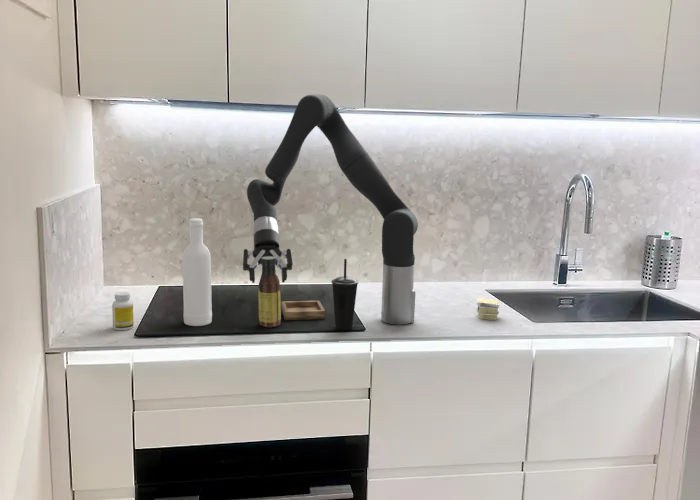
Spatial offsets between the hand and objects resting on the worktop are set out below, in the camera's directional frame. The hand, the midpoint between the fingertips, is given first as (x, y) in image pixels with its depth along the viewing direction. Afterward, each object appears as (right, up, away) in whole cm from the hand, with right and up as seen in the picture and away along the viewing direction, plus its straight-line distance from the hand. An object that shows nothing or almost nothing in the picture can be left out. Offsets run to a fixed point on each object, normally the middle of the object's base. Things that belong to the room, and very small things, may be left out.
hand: (268, 281), depth 179 cm
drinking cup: (+21, -13, 0) cm, 25 cm away
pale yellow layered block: (+65, -12, +15) cm, 68 cm away
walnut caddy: (+9, -11, +13) cm, 19 cm away
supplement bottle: (-40, -13, -5) cm, 42 cm away
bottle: (-21, -12, +2) cm, 24 cm away
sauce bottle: (0, -13, +1) cm, 13 cm away
